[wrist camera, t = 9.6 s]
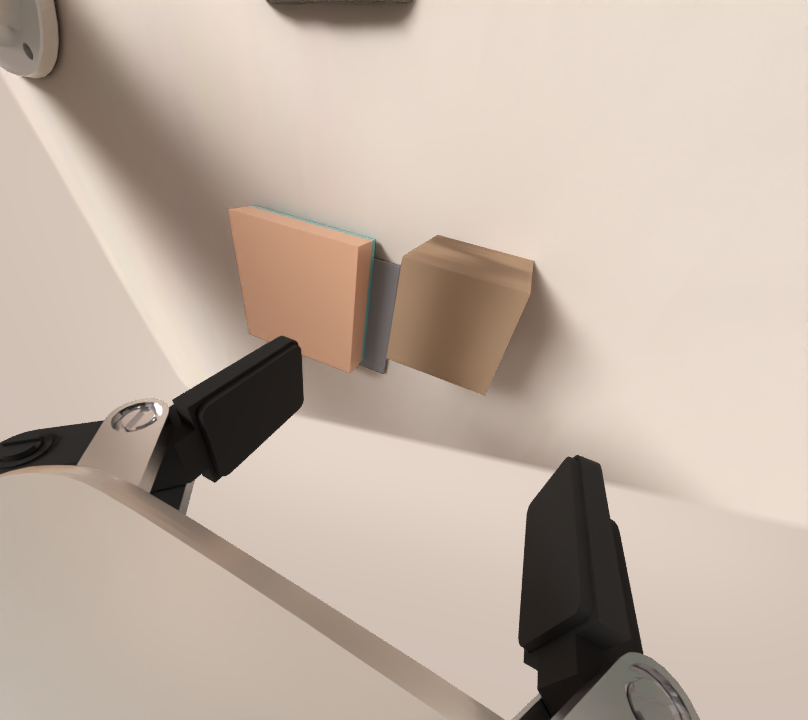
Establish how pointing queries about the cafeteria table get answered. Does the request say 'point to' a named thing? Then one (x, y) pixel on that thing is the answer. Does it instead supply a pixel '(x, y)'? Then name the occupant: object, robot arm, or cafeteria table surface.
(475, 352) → the walnut block
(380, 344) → the mat
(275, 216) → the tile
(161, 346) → the cafeteria table surface
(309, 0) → the stone slab
